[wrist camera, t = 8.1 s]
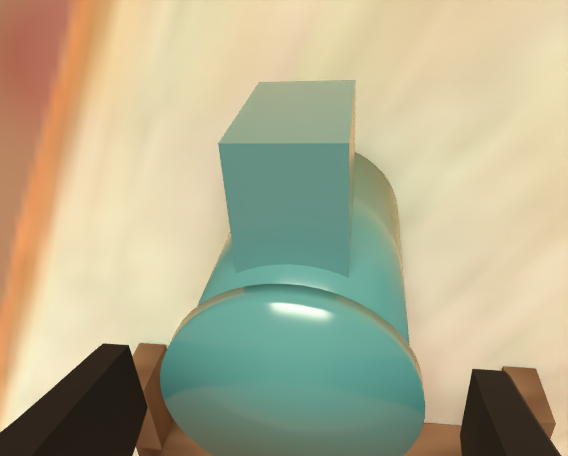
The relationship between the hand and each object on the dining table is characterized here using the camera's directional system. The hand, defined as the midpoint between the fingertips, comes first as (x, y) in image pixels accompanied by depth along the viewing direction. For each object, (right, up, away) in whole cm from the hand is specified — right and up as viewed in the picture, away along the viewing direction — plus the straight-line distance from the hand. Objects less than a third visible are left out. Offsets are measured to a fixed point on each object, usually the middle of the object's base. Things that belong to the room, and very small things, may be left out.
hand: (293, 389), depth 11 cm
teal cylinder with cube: (+1, +5, +6) cm, 8 cm away
